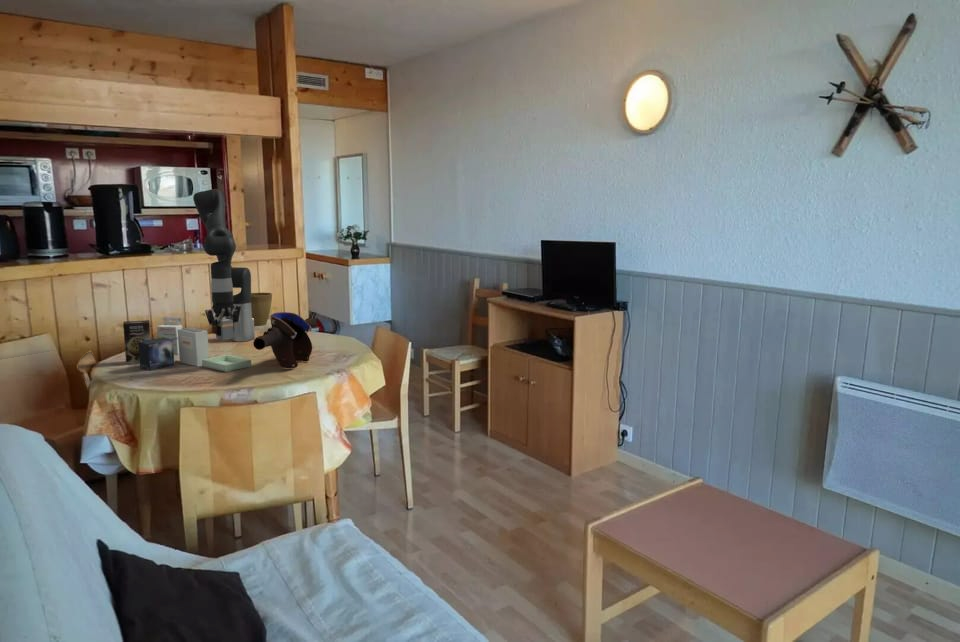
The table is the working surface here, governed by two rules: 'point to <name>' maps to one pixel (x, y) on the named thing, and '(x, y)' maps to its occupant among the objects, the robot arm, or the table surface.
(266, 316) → the plant pot
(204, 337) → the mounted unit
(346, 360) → the table surface
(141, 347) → the small box
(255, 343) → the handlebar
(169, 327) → the ink cartridge box
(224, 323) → the module
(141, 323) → the coffee box
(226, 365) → the tray
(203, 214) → the robot arm
